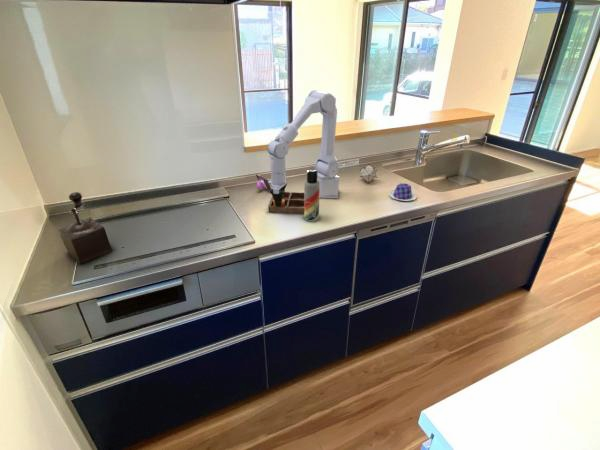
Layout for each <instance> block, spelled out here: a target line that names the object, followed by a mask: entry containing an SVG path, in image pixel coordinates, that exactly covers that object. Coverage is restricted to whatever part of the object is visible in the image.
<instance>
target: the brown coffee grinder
mask: <svg viewBox="0 0 600 450" xmlns="http://www.w3.org/2000/svg"><path fill="white" fill-rule="evenodd" d="M82 198H83V194H82V193H81V192H79V191H74V192H71V193H70V194H69V195H68V199H69V201H71V202H72V203H73V207H71V208H70V209H69V210H68V213H69V215H72V216H74V218H75V222H74V223H72V224H69V225H66V226H64V227H61V228H58V229H57V230H58V234H59V236H60V238H61V240H62V243H63V245H64V247H65V249H66V252H67V254H68V255H69V256H70V257H71V258H72V259H73V260H74V261H75V262H77V263H78V264H80V265H82V264H85V263H88V262H90V261H92V260H95V259H97V258H100V257H102V256H104V255H106V254H108V253H111V252H112V251H113V249H112V246H111V244H110V240H109V237H108V234H107V232H106V231H107V230H106V228H105V227H104V226H103V225H101V223H99V222H98V221H97V220H95V219H93V218H92V217H88V218H85V219H81V220H80V217H79V215H78V214H79V212H78V211H77V209H79V208H81V207H82V206H83V205H84V202H83V201H82Z"/></svg>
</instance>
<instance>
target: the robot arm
mask: <svg viewBox="0 0 600 450" xmlns="http://www.w3.org/2000/svg"><path fill="white" fill-rule="evenodd" d="M336 102H337V98H336V97H335V96H334V95H333V94H332V93H330V92H323V91H320V90H319V91H318V90H316V89H315V90H311V91H310V92H309V93H308V95H307V96H306V97H305V99H304V103H303V105H302V106H301V108H300V110H299V111H298V113H296V115H295V117H294V118H293V120H291V121H292V122H291V123H286V124H285V125H283V127H282V129H281V131H280V132H279V133H278V134H277V136H275V137H274V139H272V140H270V142H269V143H268V145H267V147H266V151H267V152H268V154H269V161H270V180H268V183H269V185H270V186H271V190H270V191H269V193H270V195H271V197H272V196H273V198H274V202H275V205H276V206H281V203H282V198H283V196H284V192H286V187H287V185H288V183H287V179H286V178H287V177H286V176H287V172H286V170H287V169H286V156H287V155H288V153H289V148H290V147H291V145H292V143H293V142H294V141H295V139H296V138H297V137H298V135H299V129H300V128H301V127H302V126H303V124H305V122H306V121H307V120H308V119H309V118H310V116H311V115H312V114H319V113H320V114H321V115H322V127H321V141H320V142H321V143H320V153H319V154H318V155H317V156H316V160H315V163H314V170H317V181H319V183H320V192H319V199H321V198H322V199H338V198H339V192H340V188H339V185H340V184H339V183H340V176H339V175H338V174H339V164H338V162H339V161H338V158H337V157H336V156H335V141H336V129H337V118H338V117H337V116H338V109H337V105H336Z"/></svg>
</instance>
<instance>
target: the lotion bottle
mask: <svg viewBox="0 0 600 450" xmlns="http://www.w3.org/2000/svg"><path fill="white" fill-rule="evenodd" d="M303 186H304V187H303V188H304V189H303V192H304V214H303V217H304V220H305V221H307V222H317V221H319V218H320V198H319V192H320V183H319V181H318V174H317V170H315V169H309V170H306V180H305V181H304V185H303Z"/></svg>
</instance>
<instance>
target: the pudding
mask: <svg viewBox="0 0 600 450" xmlns="http://www.w3.org/2000/svg"><path fill="white" fill-rule="evenodd" d="M388 195H389V197H391V198H392V199H394V200H397V201H404V202H409V201H413V200H416V199H417V197H418V196H417V194H416V193H415V192H413V190H412V186H411V185H410V184H408V183H405V182H402V183H401V182H399V183H398V184H397V185H396V187H395V189H391V190H389V192H388Z"/></svg>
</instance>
